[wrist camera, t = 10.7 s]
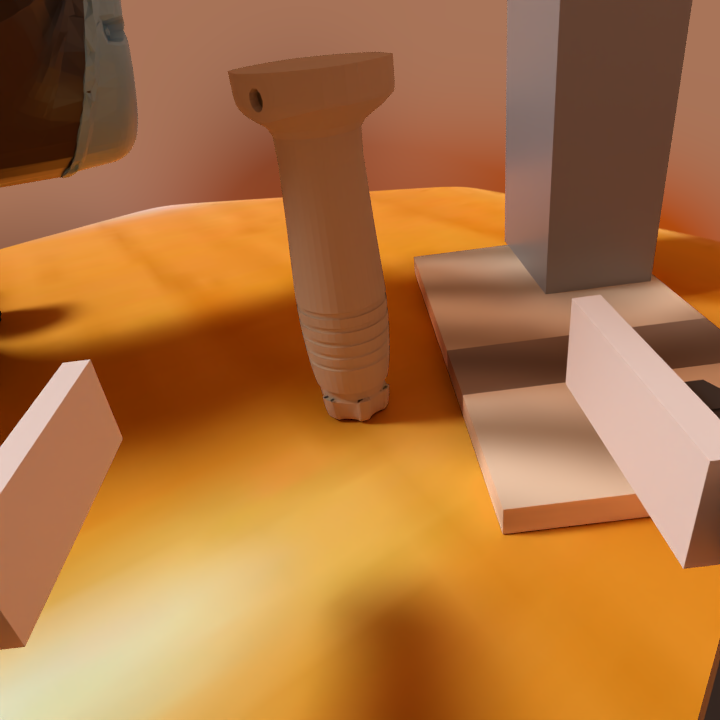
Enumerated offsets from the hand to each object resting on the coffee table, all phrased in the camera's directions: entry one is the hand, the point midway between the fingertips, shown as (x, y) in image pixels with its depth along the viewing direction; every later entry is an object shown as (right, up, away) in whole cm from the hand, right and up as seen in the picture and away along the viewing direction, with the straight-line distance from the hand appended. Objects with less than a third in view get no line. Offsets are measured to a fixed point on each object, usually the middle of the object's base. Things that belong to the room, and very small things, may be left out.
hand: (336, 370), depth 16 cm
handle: (+1, -2, +12) cm, 13 cm away
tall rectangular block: (+14, +7, +21) cm, 26 cm away
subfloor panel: (+12, +1, +15) cm, 19 cm away
